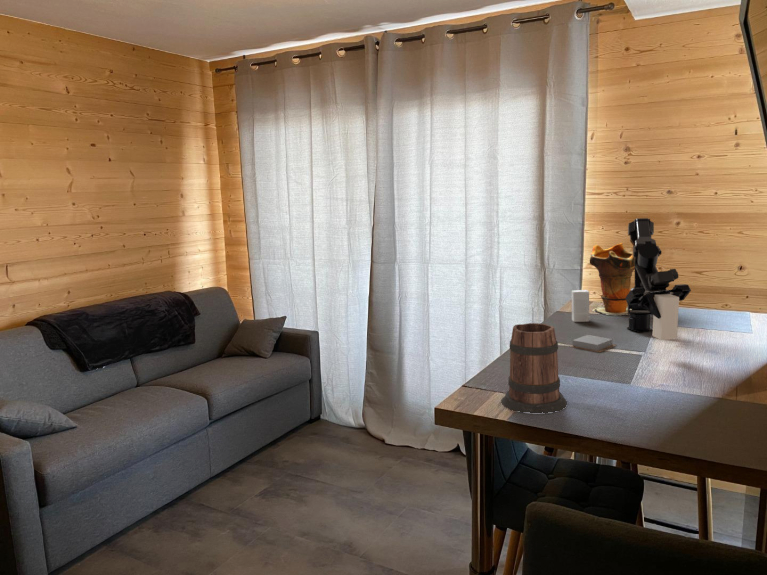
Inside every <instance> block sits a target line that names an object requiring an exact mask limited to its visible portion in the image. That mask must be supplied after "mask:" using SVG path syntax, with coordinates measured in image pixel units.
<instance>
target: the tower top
mask: <svg viewBox="0 0 767 575" xmlns="http://www.w3.org/2000/svg"><path fill="white" fill-rule="evenodd" d="M612 344H613V339H612V338H608V337H602V336H598V335H591V334H586V335H583V336H581V337H578V338H575V339H573V340H572V345H573V346H575V347H580V348H585V349H590V350H595V351H599V350H601V349H604V348H606V347H609V346H611V345H612ZM595 351H594V352H595Z"/></svg>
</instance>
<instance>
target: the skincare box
mask: <svg viewBox="0 0 767 575" xmlns="http://www.w3.org/2000/svg"><path fill="white" fill-rule="evenodd" d="M571 321H572V322H573V323H582V322H583V323H585V322H590V291H589V290H588V289H576V290H575V289H573V290H571Z"/></svg>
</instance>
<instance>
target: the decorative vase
mask: <svg viewBox="0 0 767 575" xmlns="http://www.w3.org/2000/svg"><path fill="white" fill-rule="evenodd" d="M623 244H624V243H623V242H620V243H618V244H615V245H613V246H611V247H609V248H605V249H604V248H602V246H600V245H598V244H595V245H593V247H592V251H591V254H590V258H589V264H590V265H591V266H593V267H595V268H596V270H597V271H598V277H599V280H600V288H601V292H602V294H601V295H600V298H601V300H602V304H603V306H599V307H596V308H594V309H592V310H591V311H592V312H594V313H595V312H597V313H600V314H603V315H607V316H608V315H611V316H622V315H623V316H625V315H629V314H628V311H627V306H628V304H627V301H626V296H627V295H628V293H629V292H630V290H631V282H632V281H631V280H632V275H633V272H635V257H633V251H628V250H626V249H625V248H624V245H623ZM630 310H632V309H630Z"/></svg>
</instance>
